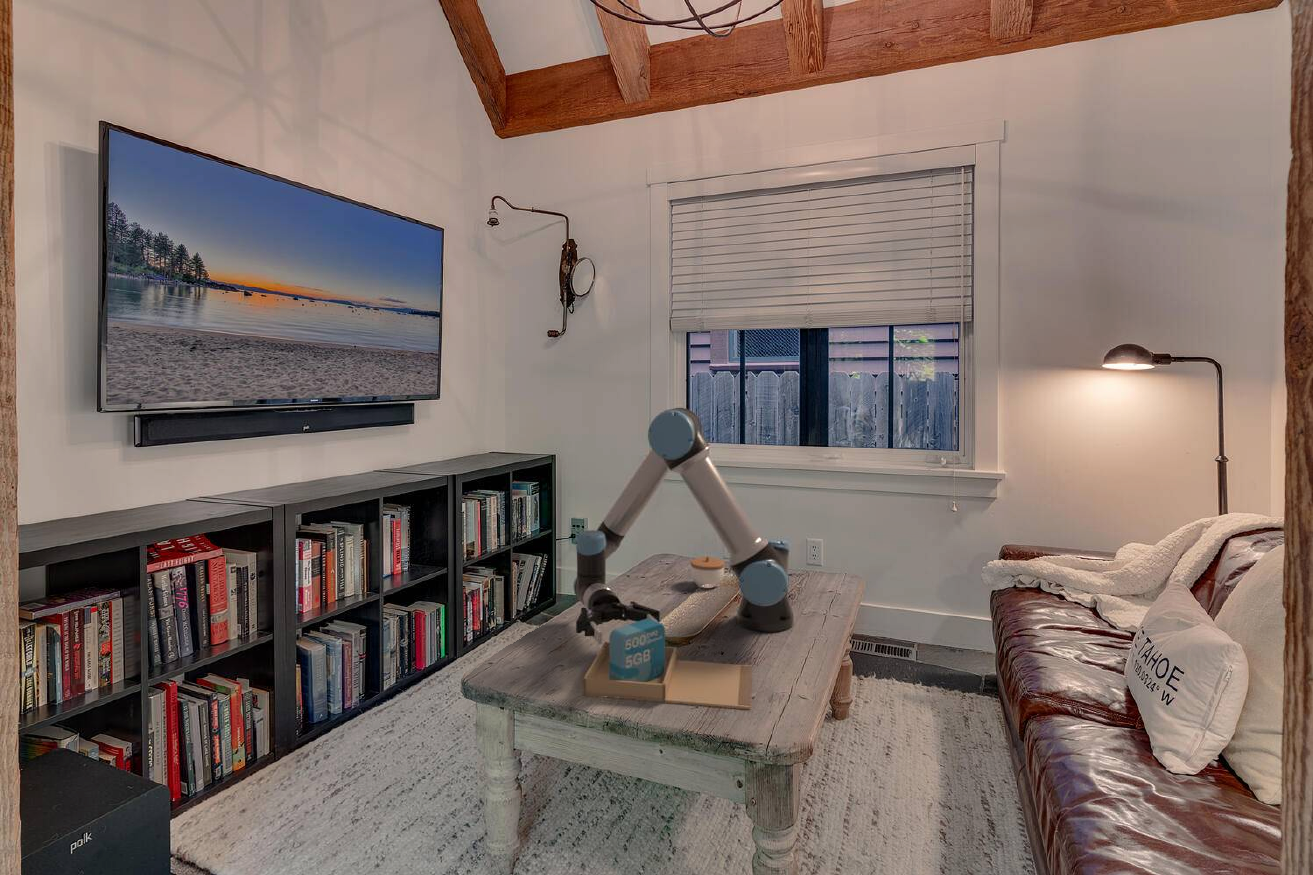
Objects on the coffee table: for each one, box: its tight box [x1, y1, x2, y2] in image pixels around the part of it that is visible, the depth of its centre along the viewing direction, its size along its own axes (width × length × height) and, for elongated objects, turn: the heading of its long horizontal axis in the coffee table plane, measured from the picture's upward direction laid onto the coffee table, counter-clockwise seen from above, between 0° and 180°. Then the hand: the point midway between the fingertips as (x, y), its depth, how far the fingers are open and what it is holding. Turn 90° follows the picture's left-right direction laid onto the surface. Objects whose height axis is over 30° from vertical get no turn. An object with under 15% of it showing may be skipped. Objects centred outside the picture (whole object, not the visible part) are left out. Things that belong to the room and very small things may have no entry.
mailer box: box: [582, 641, 752, 710], centre depth 145 cm, size 34×19×4 cm, turn 81°
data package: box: [608, 619, 666, 682], centre depth 143 cm, size 12×4×12 cm, turn 131°
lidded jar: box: [690, 556, 725, 588], centre depth 210 cm, size 11×11×9 cm
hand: (630, 634), depth 146 cm, fingers open, 13 cm apart
